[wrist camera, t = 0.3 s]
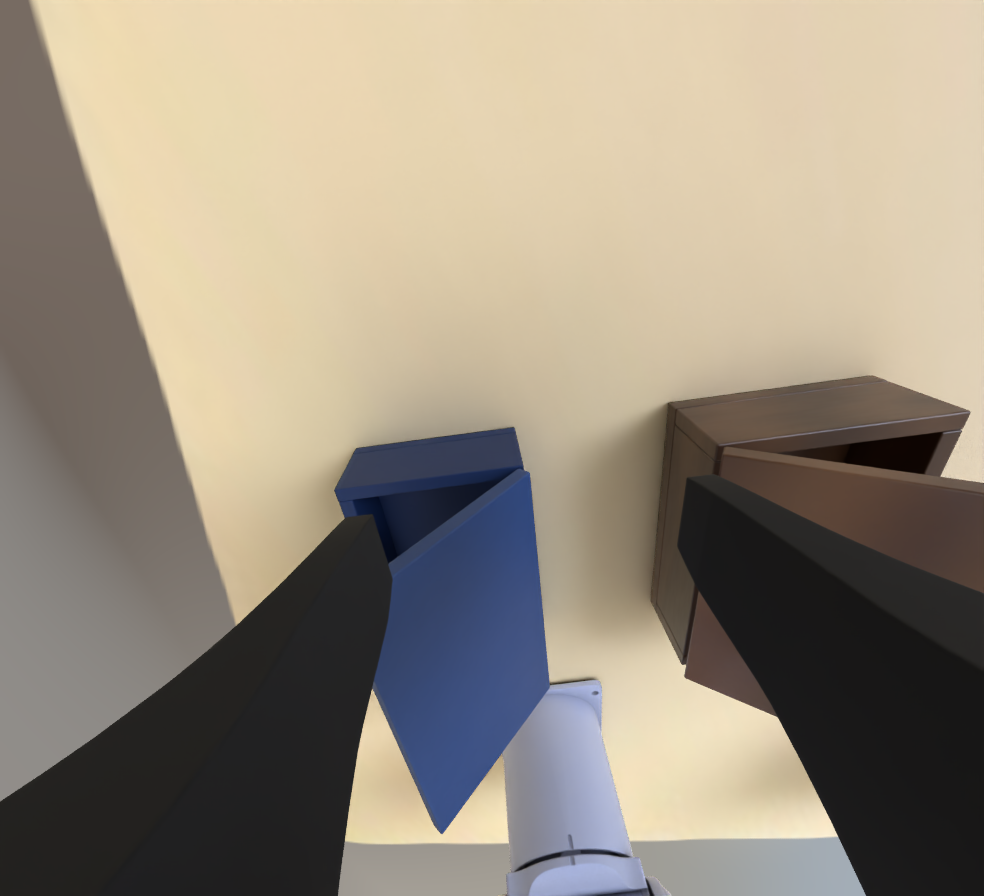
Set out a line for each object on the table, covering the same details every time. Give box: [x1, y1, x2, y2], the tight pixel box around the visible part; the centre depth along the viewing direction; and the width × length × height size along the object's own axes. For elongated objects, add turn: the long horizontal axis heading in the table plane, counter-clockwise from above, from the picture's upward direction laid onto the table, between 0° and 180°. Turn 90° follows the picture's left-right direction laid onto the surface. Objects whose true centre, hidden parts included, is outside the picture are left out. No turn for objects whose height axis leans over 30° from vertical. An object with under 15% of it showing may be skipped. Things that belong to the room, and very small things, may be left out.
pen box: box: [651, 376, 970, 665], centre depth 20 cm, size 10×14×4 cm
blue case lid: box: [372, 469, 550, 834], centre depth 17 cm, size 8×14×1 cm
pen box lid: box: [684, 447, 984, 717], centre depth 16 cm, size 10×14×1 cm
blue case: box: [334, 427, 524, 564], centre depth 21 cm, size 8×14×4 cm, turn 7°
